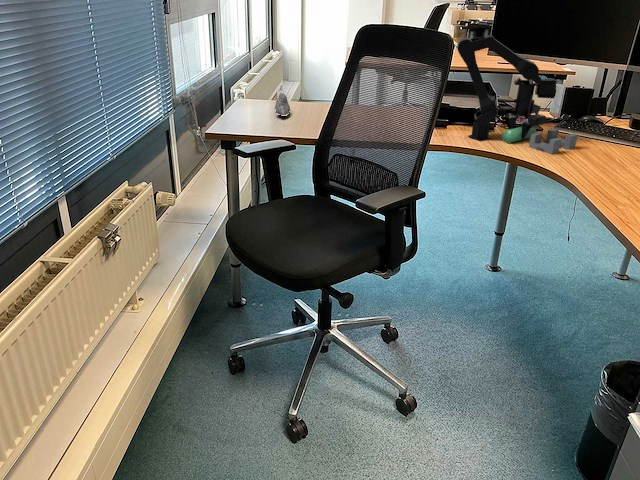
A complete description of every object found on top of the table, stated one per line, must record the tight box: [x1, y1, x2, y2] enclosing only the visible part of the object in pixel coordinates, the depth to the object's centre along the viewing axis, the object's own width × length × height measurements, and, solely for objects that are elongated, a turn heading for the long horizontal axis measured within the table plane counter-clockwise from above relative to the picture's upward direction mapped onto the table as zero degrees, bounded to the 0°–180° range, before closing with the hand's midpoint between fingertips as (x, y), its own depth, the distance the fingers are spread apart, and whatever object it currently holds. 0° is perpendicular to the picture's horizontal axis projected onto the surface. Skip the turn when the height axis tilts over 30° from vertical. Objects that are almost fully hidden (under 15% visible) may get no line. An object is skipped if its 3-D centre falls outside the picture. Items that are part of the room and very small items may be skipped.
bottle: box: [501, 126, 537, 144], centre depth 208 cm, size 16×5×5 cm, turn 123°
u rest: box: [528, 128, 579, 155], centre depth 200 cm, size 14×10×5 cm
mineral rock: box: [274, 92, 291, 115], centre depth 236 cm, size 13×11×10 cm
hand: (517, 137), depth 208 cm, fingers closed on bottle, 5 cm apart
